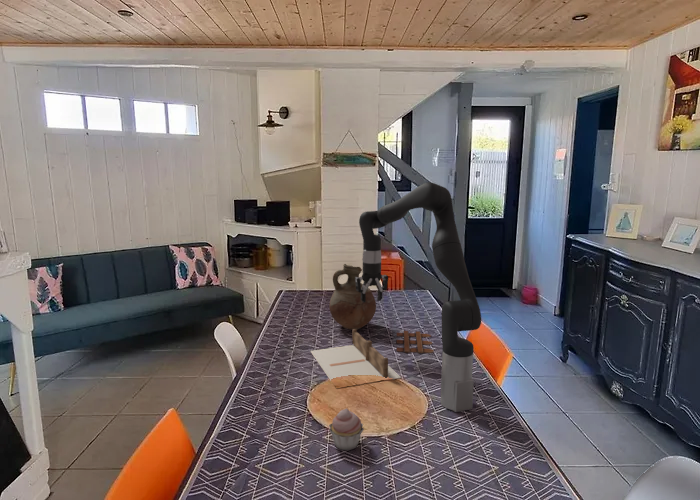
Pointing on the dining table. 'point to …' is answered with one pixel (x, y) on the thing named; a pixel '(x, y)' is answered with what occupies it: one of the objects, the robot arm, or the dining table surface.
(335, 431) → the cupcake
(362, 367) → the card
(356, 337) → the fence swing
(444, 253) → the robot arm
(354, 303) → the jug
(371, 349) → the fence fixed
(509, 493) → the dining table surface
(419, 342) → the decorative fence
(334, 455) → the dining table surface
